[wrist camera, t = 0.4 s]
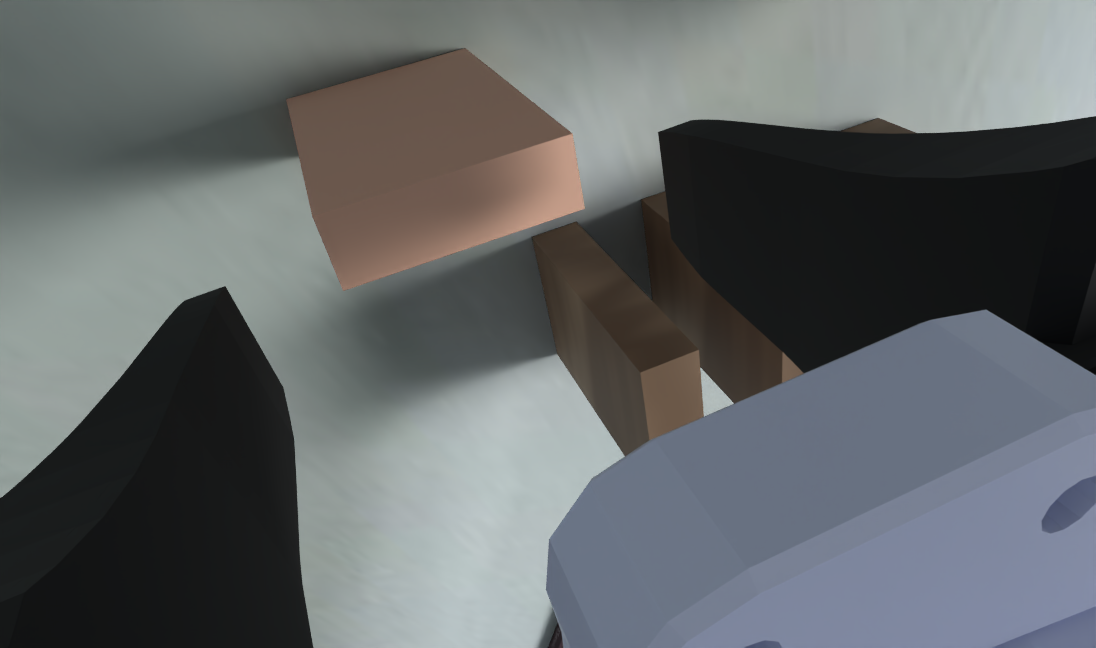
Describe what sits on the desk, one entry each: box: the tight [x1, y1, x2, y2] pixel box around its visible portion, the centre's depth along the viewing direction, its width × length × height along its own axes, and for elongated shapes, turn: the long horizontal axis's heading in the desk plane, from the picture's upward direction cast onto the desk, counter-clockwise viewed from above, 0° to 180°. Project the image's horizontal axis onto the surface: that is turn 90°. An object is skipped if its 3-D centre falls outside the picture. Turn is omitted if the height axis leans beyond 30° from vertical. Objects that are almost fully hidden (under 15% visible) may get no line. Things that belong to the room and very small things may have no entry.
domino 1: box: [286, 48, 585, 291], centre depth 17 cm, size 2×5×8 cm, turn 101°
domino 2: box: [532, 222, 704, 456], centre depth 22 cm, size 2×5×8 cm, turn 11°
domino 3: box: [641, 192, 804, 404], centre depth 23 cm, size 2×5×8 cm, turn 11°
